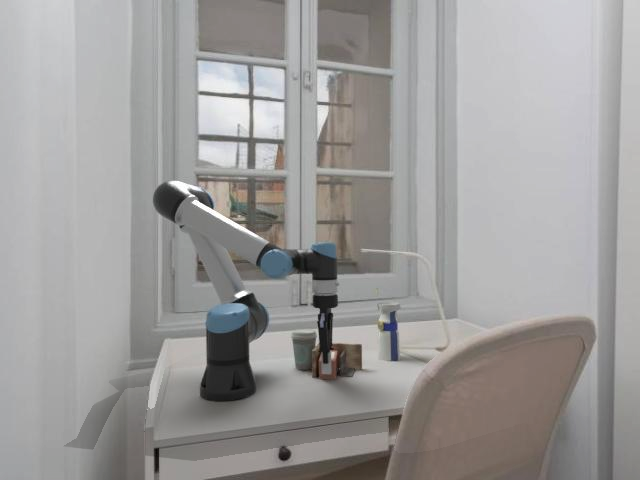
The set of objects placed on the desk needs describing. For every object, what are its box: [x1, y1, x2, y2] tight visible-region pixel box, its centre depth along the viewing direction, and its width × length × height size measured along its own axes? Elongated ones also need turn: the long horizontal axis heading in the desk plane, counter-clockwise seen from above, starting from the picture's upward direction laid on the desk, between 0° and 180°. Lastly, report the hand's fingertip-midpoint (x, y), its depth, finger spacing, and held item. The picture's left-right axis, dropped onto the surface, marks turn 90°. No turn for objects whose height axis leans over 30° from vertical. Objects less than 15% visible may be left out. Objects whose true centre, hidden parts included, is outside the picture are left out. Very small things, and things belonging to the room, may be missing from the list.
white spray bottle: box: [375, 289, 402, 362], centre depth 144 cm, size 8×9×25 cm
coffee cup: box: [291, 328, 318, 371], centre depth 134 cm, size 8×8×12 cm
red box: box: [318, 351, 339, 380], centre depth 126 cm, size 5×9×6 cm, turn 173°
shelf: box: [311, 342, 363, 378], centre depth 128 cm, size 14×11×8 cm
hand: (326, 373), depth 121 cm, fingers closed
